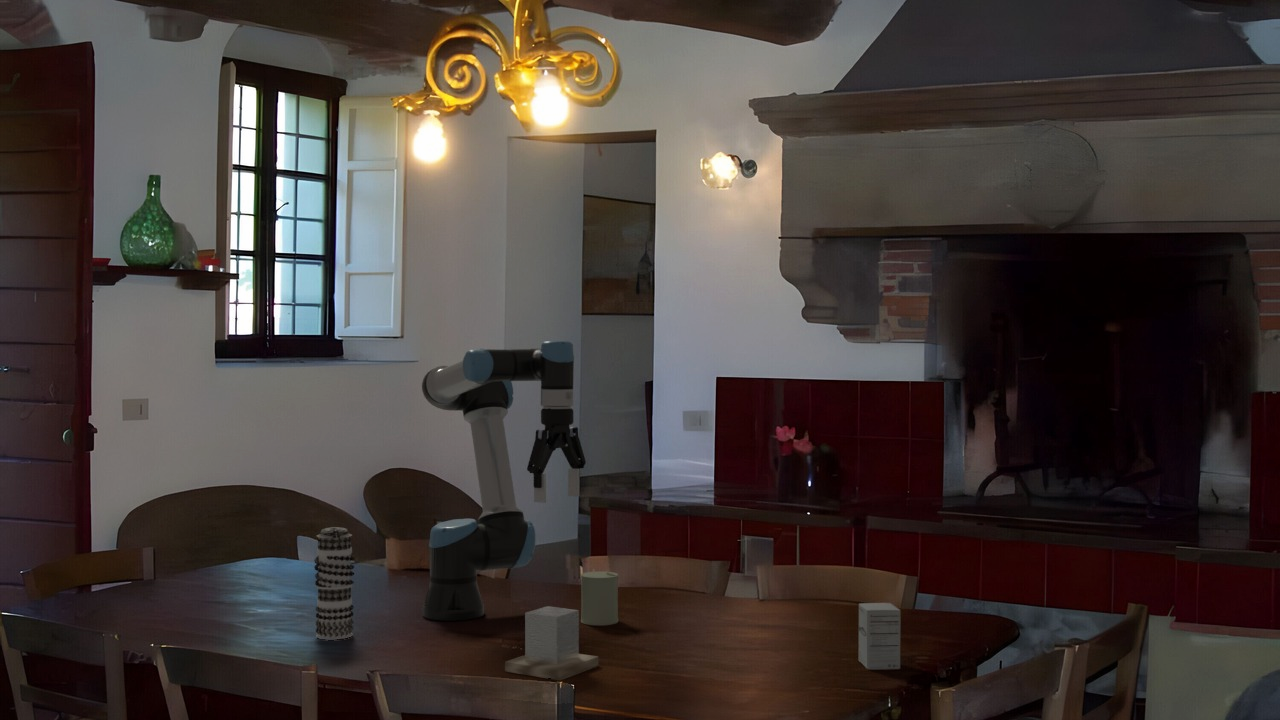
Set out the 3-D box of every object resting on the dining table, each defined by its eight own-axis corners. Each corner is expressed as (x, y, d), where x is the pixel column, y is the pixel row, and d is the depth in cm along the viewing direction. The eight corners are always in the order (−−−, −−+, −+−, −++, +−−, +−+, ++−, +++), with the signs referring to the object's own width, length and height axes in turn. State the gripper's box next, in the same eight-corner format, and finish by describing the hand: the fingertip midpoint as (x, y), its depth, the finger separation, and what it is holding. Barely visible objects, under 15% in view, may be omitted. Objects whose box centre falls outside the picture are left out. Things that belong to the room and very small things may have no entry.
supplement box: (857, 661, 286) (857, 602, 286) (891, 660, 287) (891, 602, 287) (866, 670, 279) (866, 609, 279) (901, 669, 279) (901, 609, 279)
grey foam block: (525, 660, 278) (525, 612, 278) (547, 652, 285) (547, 606, 285) (556, 665, 274) (556, 617, 274) (578, 657, 281) (578, 610, 281)
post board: (504, 671, 277) (504, 628, 277) (544, 657, 289) (544, 616, 289) (560, 680, 270) (560, 636, 270) (598, 666, 282) (598, 623, 282)
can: (613, 626, 320) (613, 576, 320) (576, 624, 322) (576, 575, 322) (622, 618, 329) (622, 570, 329) (585, 616, 331) (585, 568, 331)
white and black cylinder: (362, 633, 312) (362, 526, 312) (341, 642, 303) (341, 532, 303) (328, 630, 315) (328, 524, 314) (306, 639, 306) (306, 530, 306)
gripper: (538, 410, 297) (538, 505, 297) (600, 405, 318) (600, 494, 319) (511, 409, 301) (511, 503, 301) (574, 404, 322) (574, 492, 322)
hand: (557, 499), depth 310 cm, fingers open, 13 cm apart
